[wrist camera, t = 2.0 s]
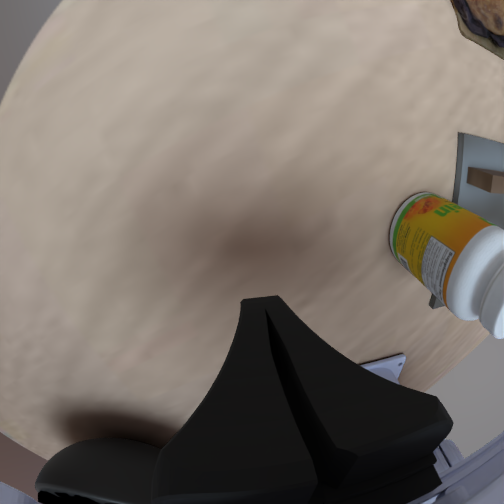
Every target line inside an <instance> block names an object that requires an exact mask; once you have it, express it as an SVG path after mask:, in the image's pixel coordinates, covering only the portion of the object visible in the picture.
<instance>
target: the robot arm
mask: <svg viewBox="0 0 504 504" xmlns="http://www.w3.org/2000/svg"><path fill="white" fill-rule="evenodd" d="M240 303H241V311H240V317H239V322H238V326H237V329H236V333H235V336H234V339H233V342H232V345H231V347H230V350H229V352H228V355H227V357H226V360H225V362H224V364H223V366H222V368H221V370H220V372H219V374H218V376H217V378H216V380H215V381H214V383H213V385H212V386H211V388H210V390H209V391H208V393H207V395H206V396H205V398H204V399H203V401H202V402H201V403H200V405H199V406H198V407H197V409H196V410H195V411H194V413H193V414H192V415H191V417H190V418H189V419H188V421H187V422H186V423H185V424H184V426H183V427H182V428H181V429H180V430H179V431H178V432H177V433H176V434H175V435H174V436H173V438H172V439H171V440H170V441H169V442H168V443H167V444H166V445H165V446H164V447H163V448H162V449H161V451H160V453H159V456H158V459H157V462H156V465H155V469H154V473H153V478H152V489H151V504H504V431H503V432H502V433H501V434H499V435H498V436H497V437H495V438H494V439H493V440H491V441H490V442H489V443H487V444H486V445H484V446H483V447H482V448H480V449H479V450H477V451H476V452H474V453H473V454H471V455H470V456H468V457H467V458H465V459H464V457H463V456H462V454H461V452H460V451H459V449H458V447H457V446H456V445H455V443H454V442H453V441H452V440H447V439H446V440H445V438H446V437H447V435H448V434H449V433H450V431H451V429H452V426H453V421H452V419H451V417H450V416H449V414H448V413H447V411H446V409H445V407H444V406H443V404H442V403H441V402H440V401H439V399H438V398H437V397H436V396H433V395H430V394H426V393H423V392H420V391H416V390H413V389H410V388H407V387H404V386H402V385H400V383H399V382H398V380H397V379H398V377H399V375H400V372H401V370H402V367H403V365H404V363H405V360H406V356H405V355H404V354H401V355H397V356H394V357H390V358H387V359H383V360H379V361H376V362H372V363H368V364H364V365H358V364H356V363H355V362H353V361H351V360H350V359H348V358H347V357H345V356H344V355H342V354H341V353H339V352H338V351H336V350H335V349H334V348H332V347H331V346H330V345H329V344H327V343H326V342H325V341H324V340H323V339H321V338H320V337H319V336H318V335H317V334H316V333H314V332H313V331H312V330H311V329H310V328H309V327H308V326H307V325H306V324H305V323H304V322H303V321H302V320H301V319H300V318H299V317H298V316H297V315H296V314H295V313H294V312H293V311H292V310H291V309H290V308H289V307H288V305H287V304H286V303H285V302H284V301H283V300H282V299H281V298H280V297H279V296H278V295H277V296H268V297H259V298H249V299H243V300H242V301H241V302H240ZM438 446H439V448H438ZM0 504H42V503H39V502H36V500H35V499H33V498H32V497H30V496H28V495H27V494H25V493H23V492H21V491H19V490H17V489H15V488H13V487H11V486H9V485H7V484H5V483H3V482H1V481H0Z"/></svg>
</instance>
